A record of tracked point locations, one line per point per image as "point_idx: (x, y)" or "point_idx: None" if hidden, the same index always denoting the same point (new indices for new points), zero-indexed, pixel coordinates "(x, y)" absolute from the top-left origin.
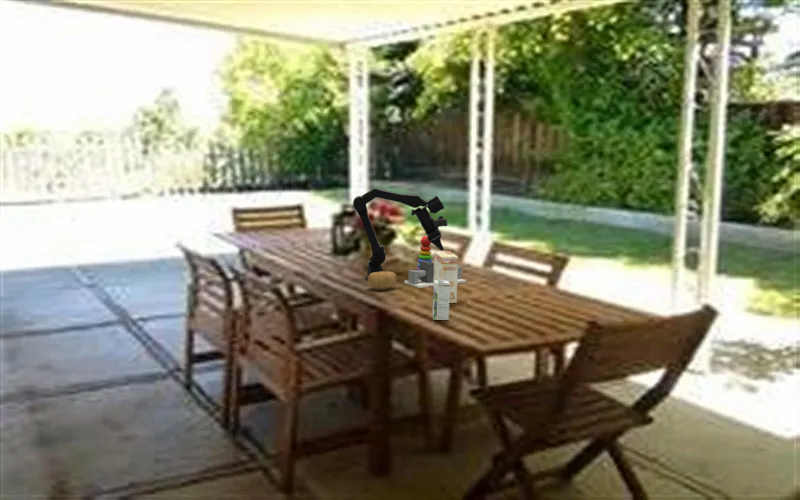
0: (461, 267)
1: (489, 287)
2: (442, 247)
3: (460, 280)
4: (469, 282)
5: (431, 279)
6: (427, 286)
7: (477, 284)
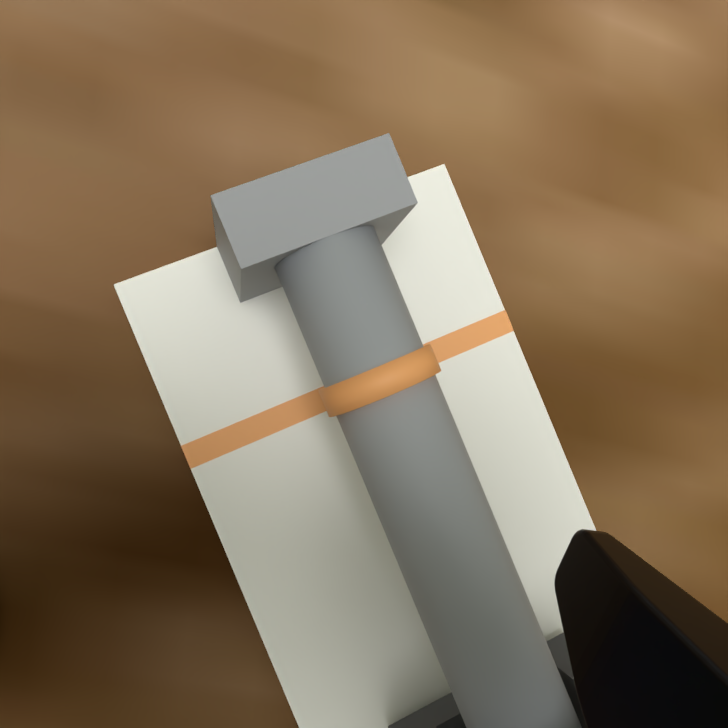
0: (391, 139)
1: (716, 7)
2: (670, 595)
3: (453, 238)
4: (437, 130)
5: None
6: None
7: (557, 77)
